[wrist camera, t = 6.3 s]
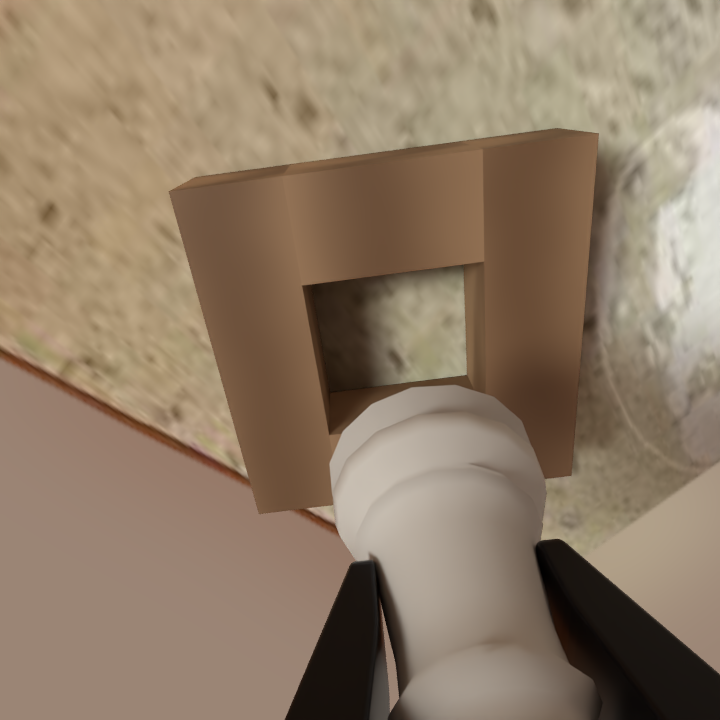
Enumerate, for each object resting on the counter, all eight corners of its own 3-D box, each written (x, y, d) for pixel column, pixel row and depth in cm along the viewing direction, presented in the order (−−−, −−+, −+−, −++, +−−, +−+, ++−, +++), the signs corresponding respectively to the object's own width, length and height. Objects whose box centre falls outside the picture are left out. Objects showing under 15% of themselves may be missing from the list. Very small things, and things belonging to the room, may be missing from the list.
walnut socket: (557, 128, 17) (598, 133, 14) (543, 430, 22) (571, 475, 20) (194, 177, 17) (168, 191, 14) (268, 464, 22) (258, 514, 20)
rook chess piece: (304, 399, 11) (241, 976, 4) (515, 350, 11) (893, 881, 3) (355, 549, 13) (378, 1109, 6) (535, 511, 13) (797, 1058, 5)
